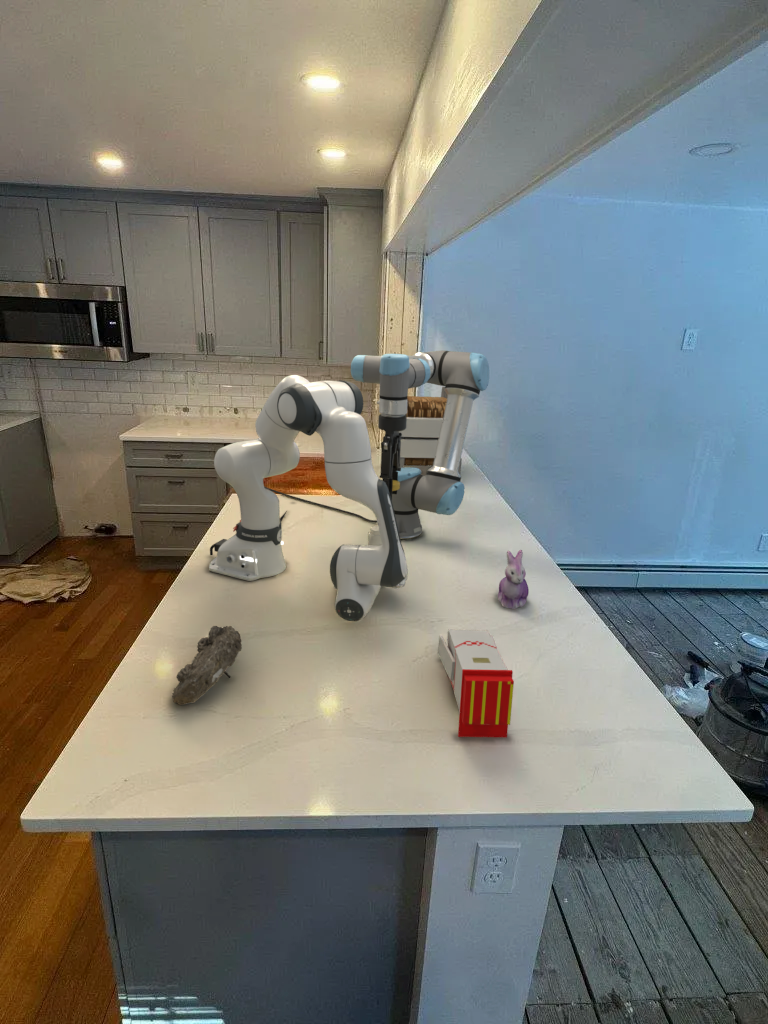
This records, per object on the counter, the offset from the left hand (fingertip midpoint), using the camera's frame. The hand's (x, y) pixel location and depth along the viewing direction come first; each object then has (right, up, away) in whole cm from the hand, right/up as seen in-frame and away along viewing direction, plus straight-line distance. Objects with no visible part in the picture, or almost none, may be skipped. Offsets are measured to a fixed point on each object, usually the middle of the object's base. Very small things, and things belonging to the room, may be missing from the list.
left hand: (376, 560), depth 162 cm
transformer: (+19, +33, +113) cm, 119 cm away
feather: (-35, +13, +51) cm, 63 cm away
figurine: (+38, -11, -6) cm, 40 cm away
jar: (0, -6, +1) cm, 7 cm away
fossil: (-34, -21, -42) cm, 58 cm away
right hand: (+4, +18, -3) cm, 19 cm away
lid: (+4, +22, -5) cm, 23 cm away
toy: (+20, -24, -44) cm, 53 cm away
